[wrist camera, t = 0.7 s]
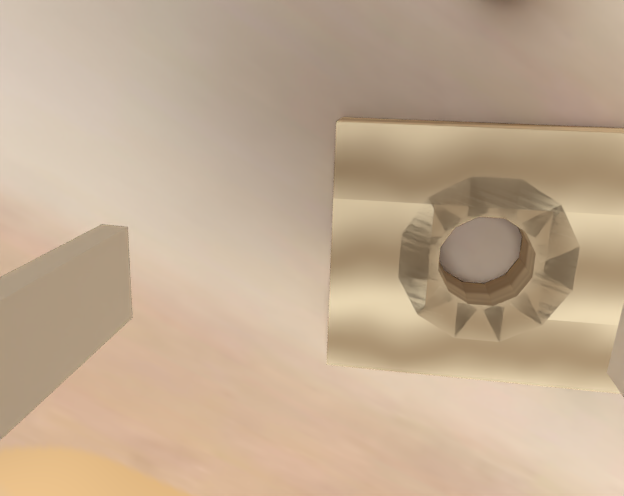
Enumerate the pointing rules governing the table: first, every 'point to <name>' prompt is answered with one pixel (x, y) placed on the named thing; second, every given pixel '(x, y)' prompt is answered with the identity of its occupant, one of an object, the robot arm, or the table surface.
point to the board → (456, 211)
